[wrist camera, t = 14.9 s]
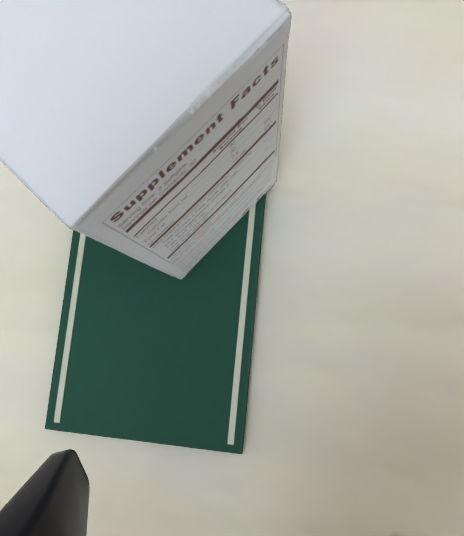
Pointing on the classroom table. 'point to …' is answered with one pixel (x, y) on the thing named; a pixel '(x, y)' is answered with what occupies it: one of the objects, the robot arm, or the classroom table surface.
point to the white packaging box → (144, 116)
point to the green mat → (158, 344)
